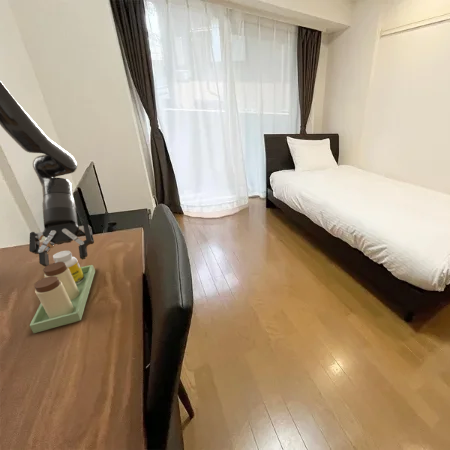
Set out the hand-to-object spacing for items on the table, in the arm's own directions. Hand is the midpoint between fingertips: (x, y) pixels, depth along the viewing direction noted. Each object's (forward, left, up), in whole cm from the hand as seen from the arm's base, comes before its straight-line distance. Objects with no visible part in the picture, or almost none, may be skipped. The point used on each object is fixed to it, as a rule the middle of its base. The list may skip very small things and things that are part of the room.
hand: (64, 262), depth 78 cm
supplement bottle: (0, 0, -7) cm, 7 cm away
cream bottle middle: (+3, -7, -7) cm, 10 cm away
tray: (+3, -7, -7) cm, 10 cm away
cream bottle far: (+5, -13, -7) cm, 16 cm away
